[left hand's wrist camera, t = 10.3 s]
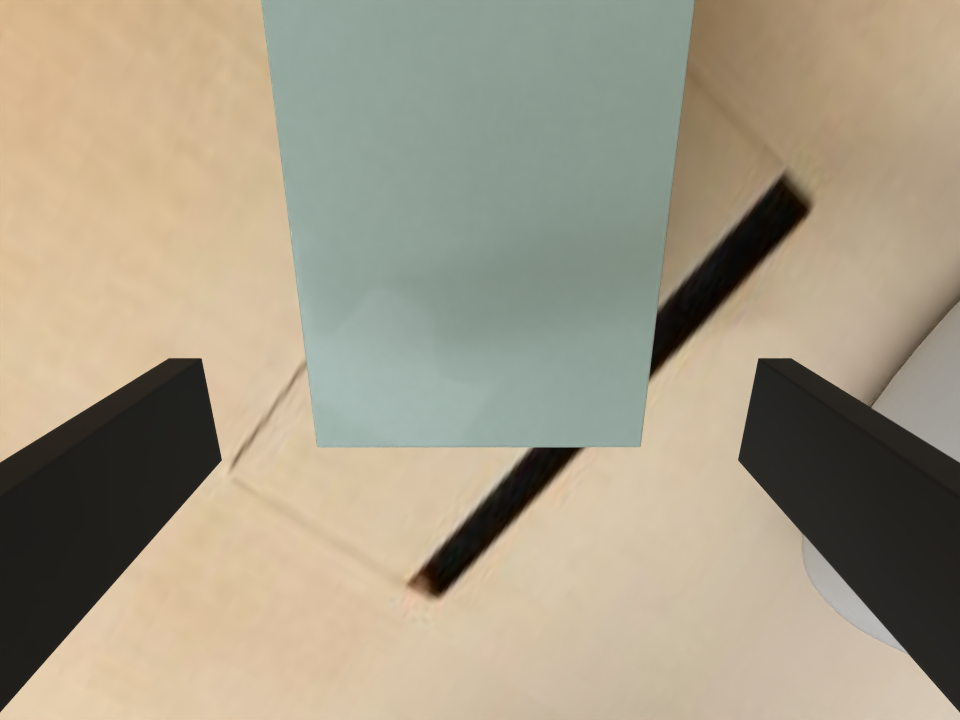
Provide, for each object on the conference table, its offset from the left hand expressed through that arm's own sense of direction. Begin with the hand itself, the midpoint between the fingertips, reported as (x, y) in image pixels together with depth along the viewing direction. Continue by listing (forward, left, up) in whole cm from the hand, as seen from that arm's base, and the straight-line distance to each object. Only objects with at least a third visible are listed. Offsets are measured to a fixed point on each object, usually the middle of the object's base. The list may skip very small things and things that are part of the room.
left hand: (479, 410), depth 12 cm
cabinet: (+6, -2, -16) cm, 17 cm away
